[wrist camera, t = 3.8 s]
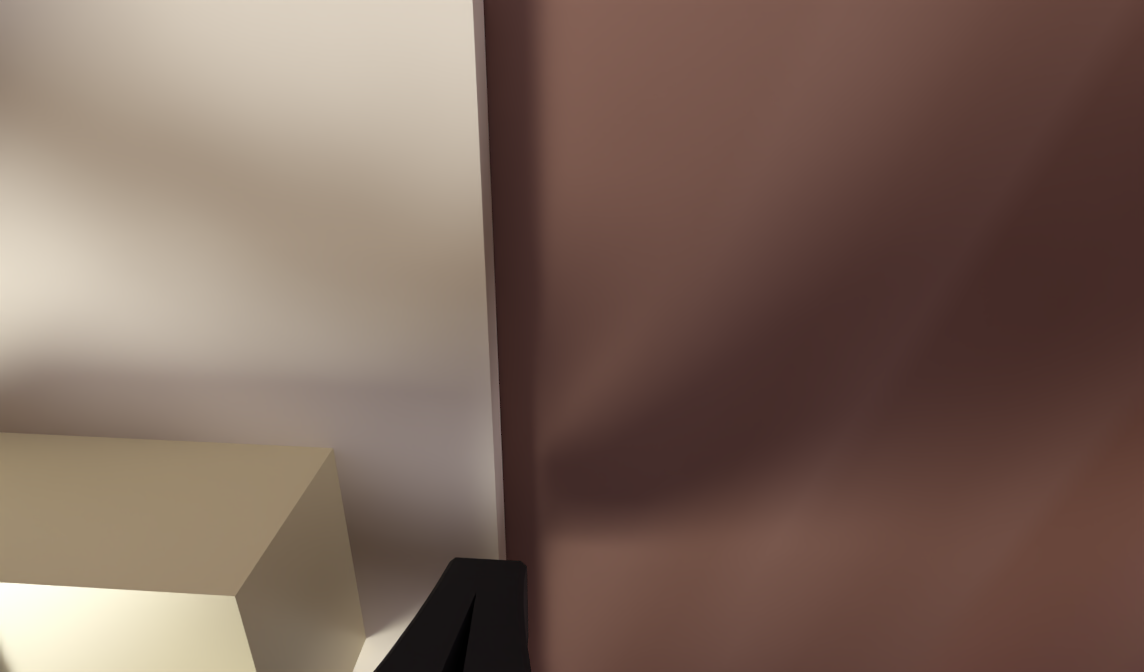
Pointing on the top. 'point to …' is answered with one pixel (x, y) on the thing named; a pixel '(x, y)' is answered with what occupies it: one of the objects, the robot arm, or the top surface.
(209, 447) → the cream rectangular block
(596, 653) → the top surface
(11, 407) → the subfloor board
